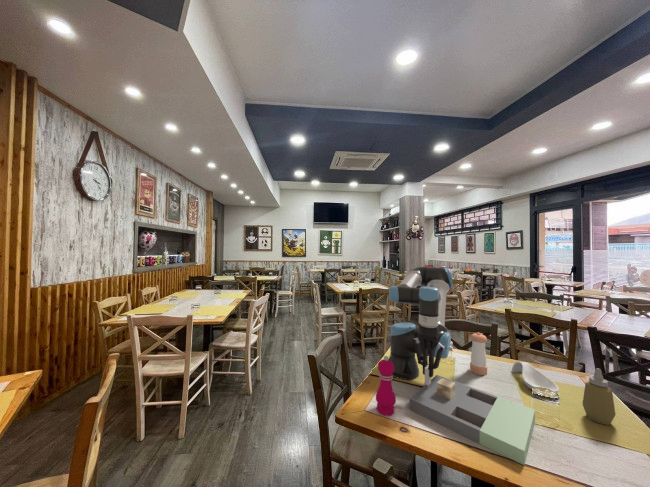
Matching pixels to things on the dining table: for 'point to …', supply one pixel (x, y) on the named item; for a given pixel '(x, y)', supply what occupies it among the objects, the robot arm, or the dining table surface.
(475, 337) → the salt shaker
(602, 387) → the squeeze bottle
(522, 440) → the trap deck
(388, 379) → the pepper mill
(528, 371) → the spoon rest
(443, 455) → the dining table surface
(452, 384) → the birch block
